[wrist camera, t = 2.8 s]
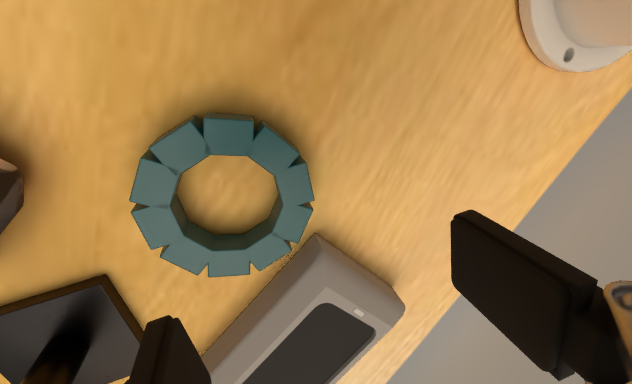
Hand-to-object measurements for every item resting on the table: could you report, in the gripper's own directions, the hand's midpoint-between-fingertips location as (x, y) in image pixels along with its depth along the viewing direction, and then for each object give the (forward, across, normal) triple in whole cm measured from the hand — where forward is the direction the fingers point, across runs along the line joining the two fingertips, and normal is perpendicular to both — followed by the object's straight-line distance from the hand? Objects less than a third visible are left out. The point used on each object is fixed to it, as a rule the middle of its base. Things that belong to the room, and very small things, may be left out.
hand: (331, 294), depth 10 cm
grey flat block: (+12, +2, +13) cm, 17 cm away
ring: (+11, +3, 0) cm, 12 cm away
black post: (+12, +16, +7) cm, 21 cm away
